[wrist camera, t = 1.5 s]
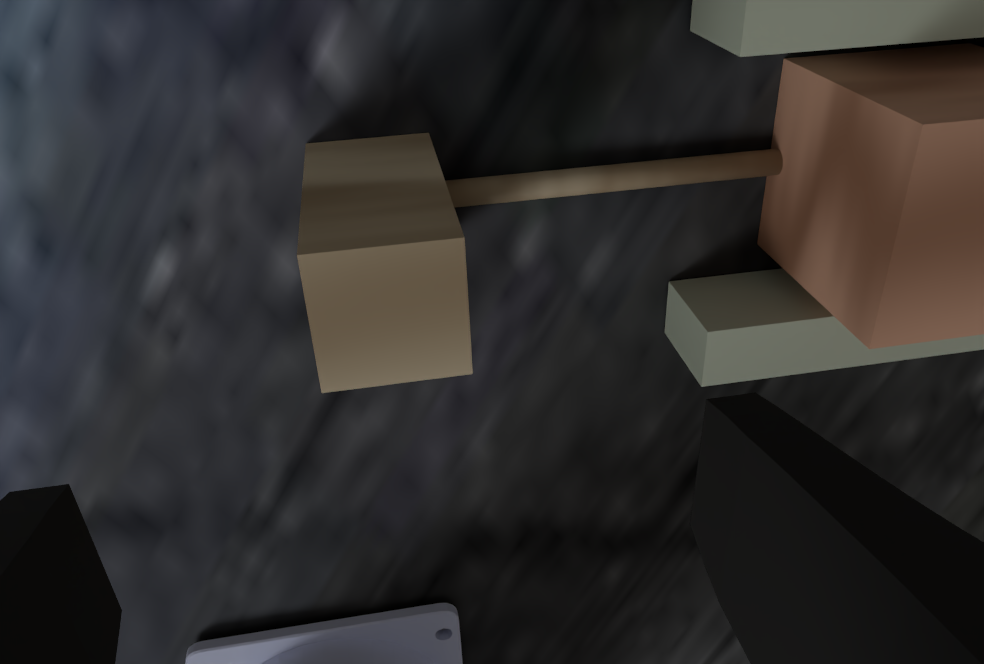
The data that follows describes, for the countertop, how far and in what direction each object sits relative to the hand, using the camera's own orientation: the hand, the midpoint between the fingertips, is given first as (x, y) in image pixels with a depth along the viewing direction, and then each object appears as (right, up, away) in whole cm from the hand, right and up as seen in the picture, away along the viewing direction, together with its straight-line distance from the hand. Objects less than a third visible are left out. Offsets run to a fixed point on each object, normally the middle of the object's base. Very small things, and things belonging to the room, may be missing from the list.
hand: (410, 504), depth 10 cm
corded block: (+4, +6, +9) cm, 12 cm away
